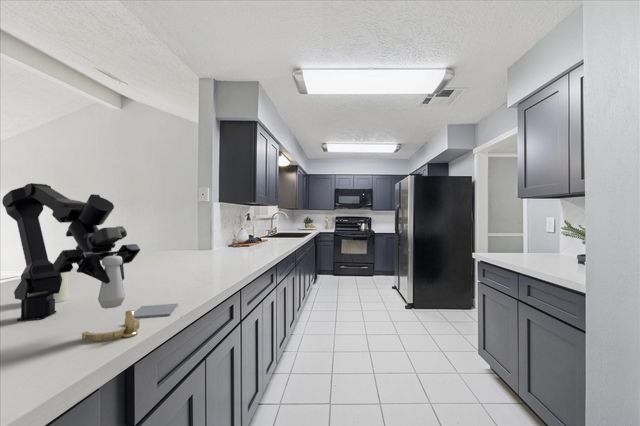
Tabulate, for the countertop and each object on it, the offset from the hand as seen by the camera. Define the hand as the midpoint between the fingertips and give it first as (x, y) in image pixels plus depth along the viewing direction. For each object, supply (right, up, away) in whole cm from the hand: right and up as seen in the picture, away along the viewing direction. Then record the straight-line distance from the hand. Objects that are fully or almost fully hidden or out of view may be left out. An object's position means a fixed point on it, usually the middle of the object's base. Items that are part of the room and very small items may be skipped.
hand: (115, 281), depth 74 cm
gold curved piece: (+2, -13, -1) cm, 13 cm away
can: (-44, -14, +29) cm, 54 cm away
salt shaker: (-1, -7, 0) cm, 7 cm away
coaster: (+1, -13, +16) cm, 21 cm away
